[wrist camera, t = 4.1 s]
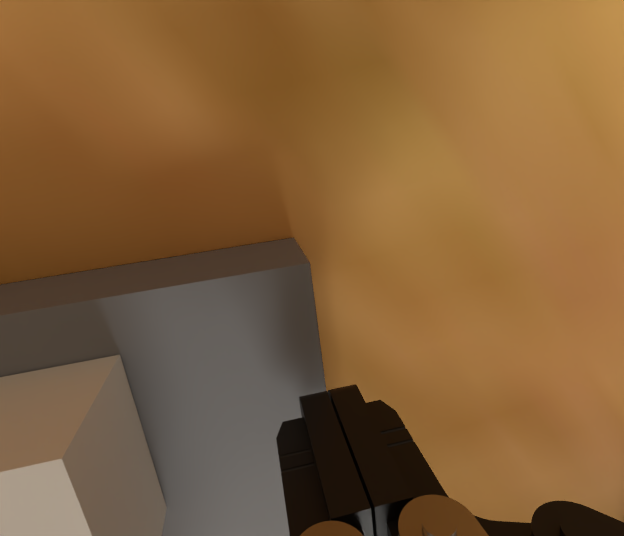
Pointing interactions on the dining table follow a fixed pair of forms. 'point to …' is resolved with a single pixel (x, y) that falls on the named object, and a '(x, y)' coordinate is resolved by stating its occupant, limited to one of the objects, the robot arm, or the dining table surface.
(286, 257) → the board
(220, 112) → the dining table surface
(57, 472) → the white boxy piece
